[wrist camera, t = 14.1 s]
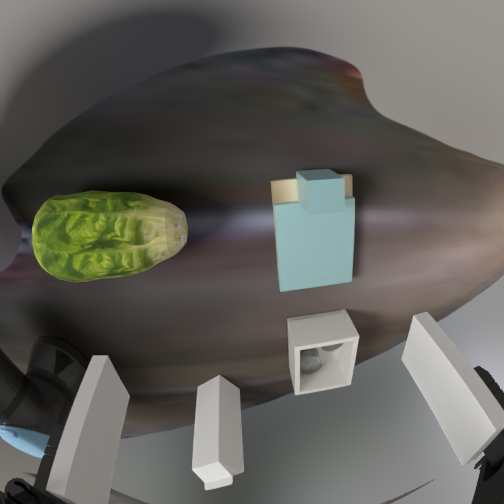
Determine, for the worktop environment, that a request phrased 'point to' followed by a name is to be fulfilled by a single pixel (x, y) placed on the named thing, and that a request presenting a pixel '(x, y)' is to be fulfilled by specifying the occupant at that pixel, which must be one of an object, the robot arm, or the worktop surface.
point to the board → (288, 191)
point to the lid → (315, 232)
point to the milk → (217, 433)
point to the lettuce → (106, 234)
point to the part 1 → (310, 361)
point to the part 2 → (331, 347)
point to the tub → (316, 336)
